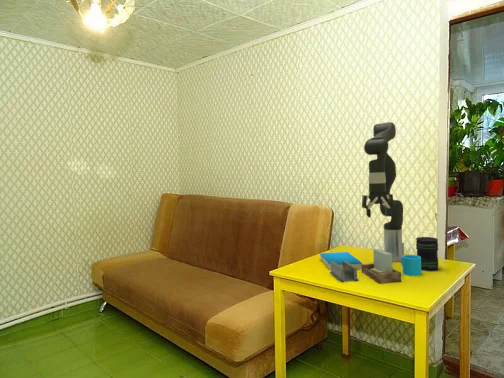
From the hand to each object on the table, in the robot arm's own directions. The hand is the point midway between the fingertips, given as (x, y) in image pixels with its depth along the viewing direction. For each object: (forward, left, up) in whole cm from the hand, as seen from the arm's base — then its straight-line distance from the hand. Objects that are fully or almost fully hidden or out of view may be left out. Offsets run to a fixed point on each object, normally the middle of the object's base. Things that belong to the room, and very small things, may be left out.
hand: (378, 216), depth 166 cm
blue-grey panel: (-1, +1, -28) cm, 28 cm away
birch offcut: (+2, +2, -27) cm, 27 cm away
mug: (-16, -2, -29) cm, 33 cm away
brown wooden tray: (0, +1, -28) cm, 28 cm away
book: (+10, -26, -29) cm, 40 cm away
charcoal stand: (+17, -3, -28) cm, 33 cm away
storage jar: (-28, -6, -29) cm, 40 cm away
